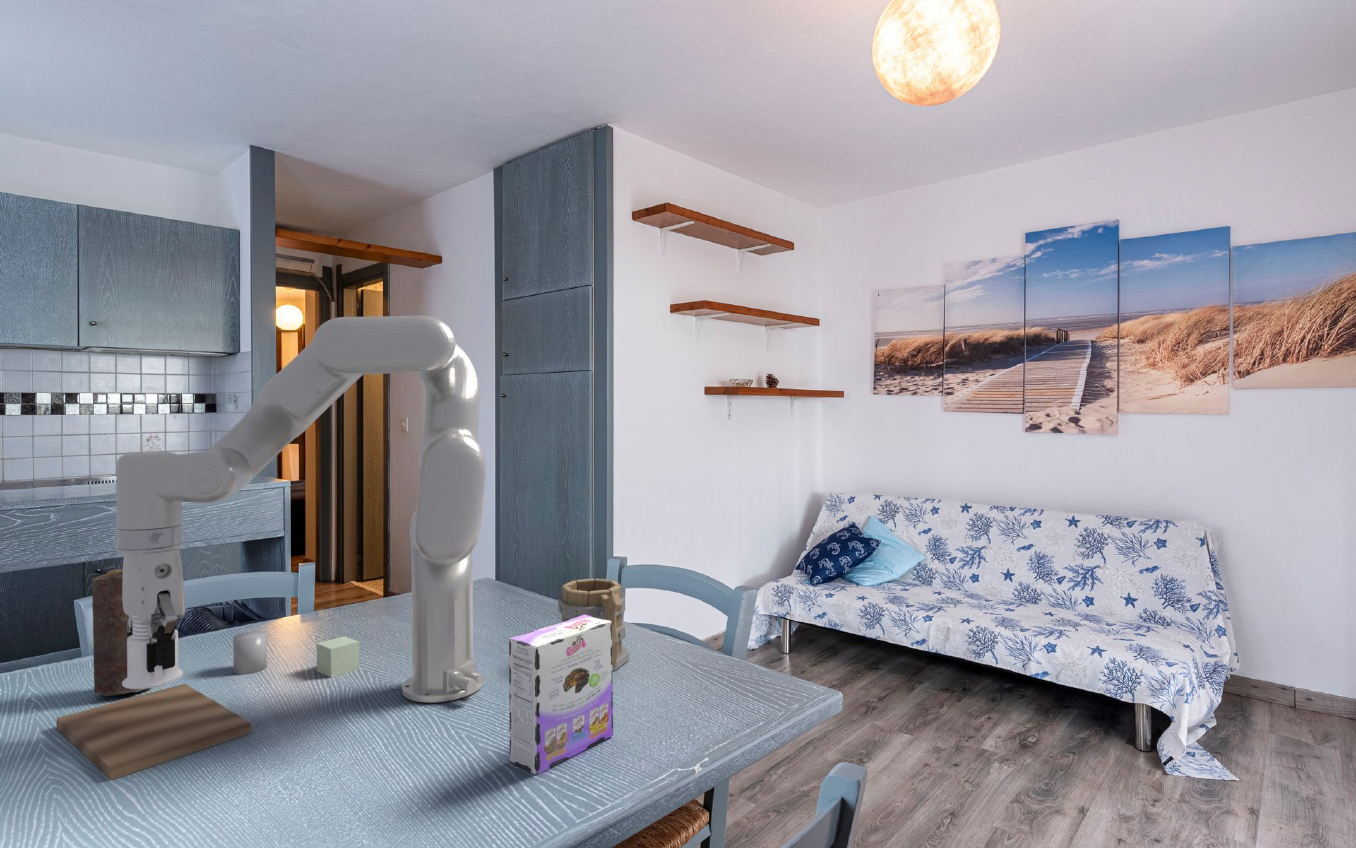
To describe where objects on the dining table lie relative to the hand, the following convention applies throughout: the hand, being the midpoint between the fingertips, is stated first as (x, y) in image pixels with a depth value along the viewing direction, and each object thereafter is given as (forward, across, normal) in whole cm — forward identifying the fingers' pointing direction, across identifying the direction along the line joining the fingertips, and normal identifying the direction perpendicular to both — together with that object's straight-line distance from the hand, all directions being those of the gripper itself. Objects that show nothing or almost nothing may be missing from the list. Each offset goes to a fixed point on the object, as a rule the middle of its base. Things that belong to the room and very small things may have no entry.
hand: (151, 662), depth 101 cm
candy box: (+10, -51, -31) cm, 61 cm away
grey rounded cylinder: (+10, +15, -19) cm, 26 cm away
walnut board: (+10, 0, 0) cm, 10 cm away
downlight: (+3, 0, 0) cm, 3 cm away
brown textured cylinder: (+10, +20, -2) cm, 22 cm away
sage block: (+10, +2, -28) cm, 30 cm away
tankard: (+10, -34, -56) cm, 66 cm away
